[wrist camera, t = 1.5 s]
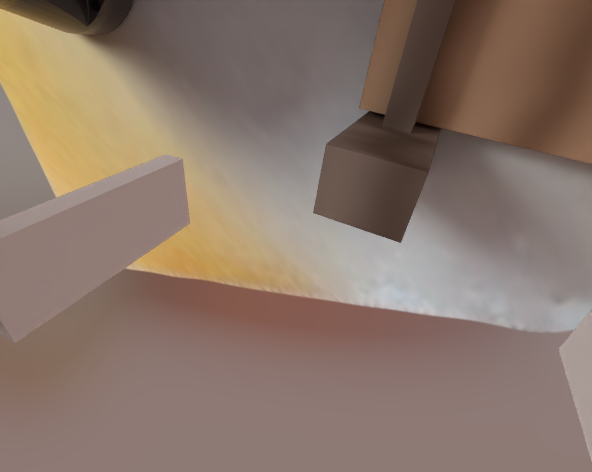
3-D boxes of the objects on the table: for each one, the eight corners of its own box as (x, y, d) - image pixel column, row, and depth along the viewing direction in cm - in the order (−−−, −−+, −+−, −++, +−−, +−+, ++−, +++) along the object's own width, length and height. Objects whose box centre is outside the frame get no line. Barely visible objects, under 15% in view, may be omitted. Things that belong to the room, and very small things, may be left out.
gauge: (355, 172, 27) (310, 227, 19) (425, -101, 18) (393, -211, 10) (416, 190, 25) (394, 257, 18) (526, -95, 16) (581, -218, 8)
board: (367, 102, 24) (359, 108, 22) (412, -82, 18) (406, -96, 16) (701, 180, 19) (728, 196, 17) (913, -48, 13) (988, -62, 11)
